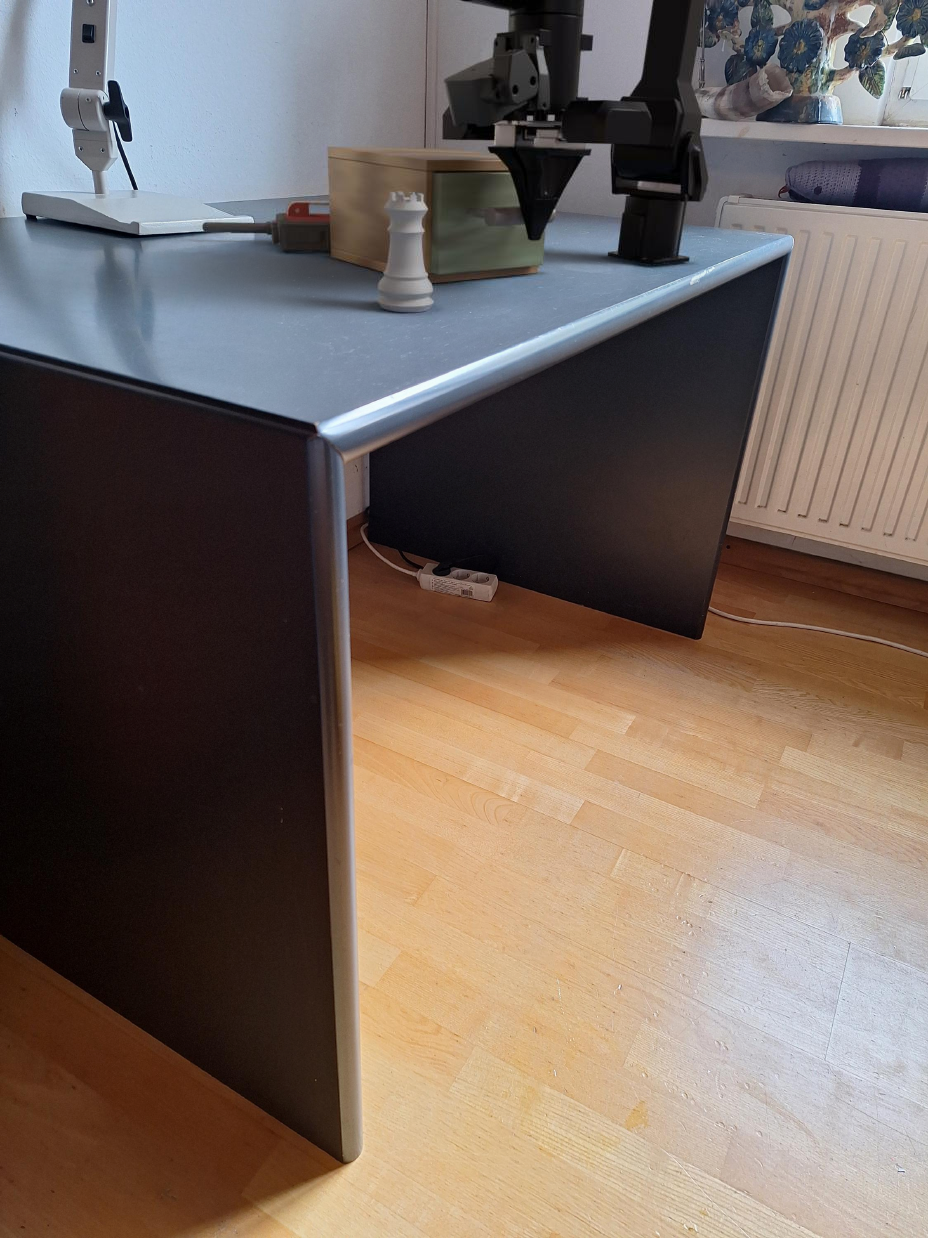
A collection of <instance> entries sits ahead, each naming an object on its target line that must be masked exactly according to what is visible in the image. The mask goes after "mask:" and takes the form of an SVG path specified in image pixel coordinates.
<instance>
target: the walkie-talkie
mask: <svg viewBox="0 0 928 1238" xmlns="http://www.w3.org/2000/svg"><path fill="white" fill-rule="evenodd" d="M310 206H329V200H300V199H299V200H298V199H295V200H291V201H289V203H288V204H287V205H286V209H285V211H286V212H279V213H276V214H275V218H274V219H271V221H266V222H232V221H231V222H229V221H226V222H225V221H224V222H223V221H222V222H221V221H205V222H203V224H202V226H201V228H202V231H203V232H205V233H229V234H266V235H267V236H271V243H272V244H273V245H279V247H280V248H281V250H282V251H283V252H284V253H285V252H286V253H331V242H330V213H317V212H313V213H312V212H310Z"/></svg>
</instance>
